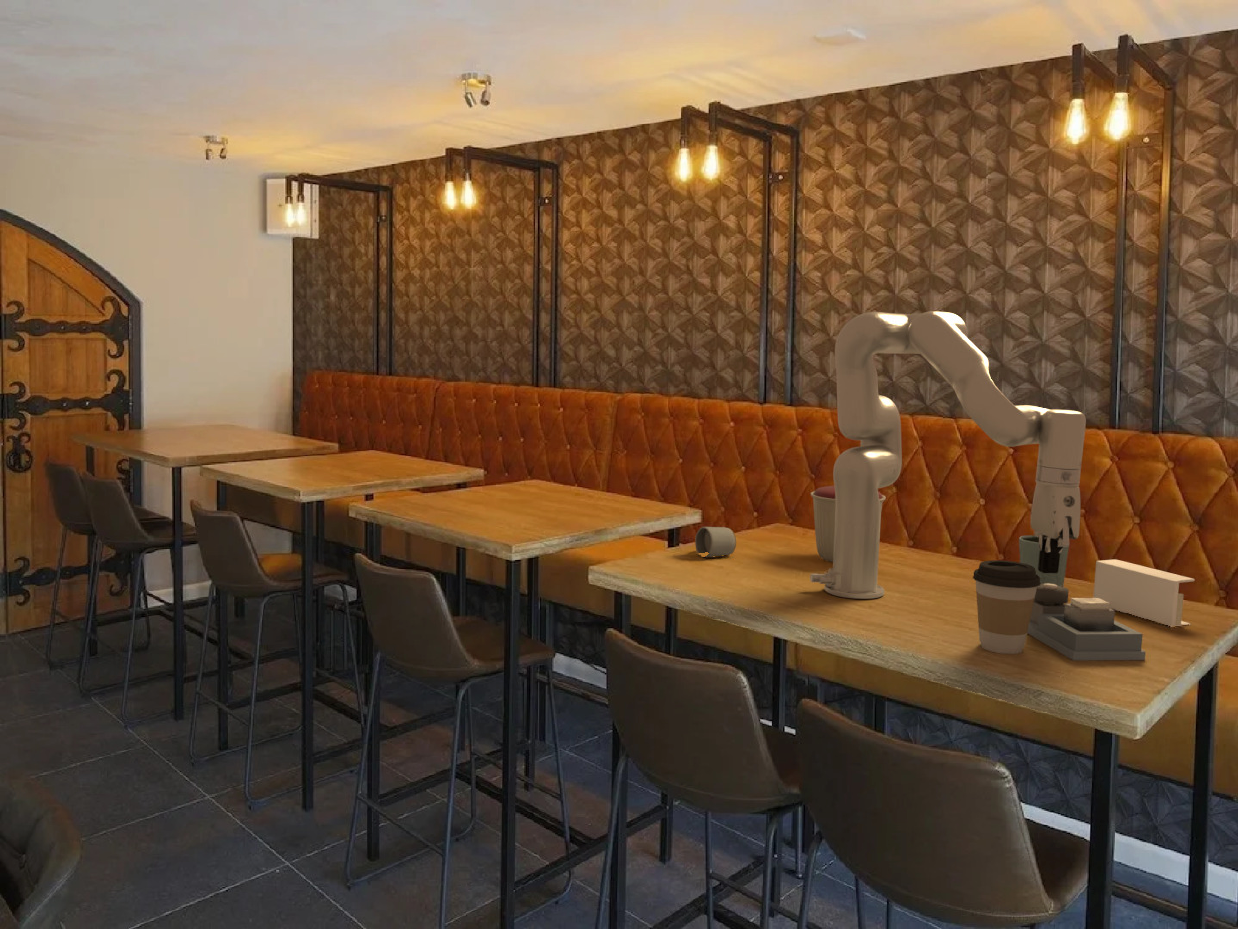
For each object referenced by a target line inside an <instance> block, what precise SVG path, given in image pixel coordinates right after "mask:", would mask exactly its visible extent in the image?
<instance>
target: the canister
mask: <svg viewBox="0 0 1238 929" xmlns="http://www.w3.org/2000/svg"><path fill="white" fill-rule="evenodd" d="M878 495H879V499H880V506H881V510H882V509H883V502H884V501H886V495H884V494H882V493H881V492H880V491H878ZM810 497H812V499H813V500H812V502H813V517H814V518H813V520H814V532H815V535H814V536H815V543H816V550H817V551H816V552H817V553H818V556H819V557H820V558H821V559H822V560H824V561H826V562H829V563H833V555H834V535H835V508H836V497H835V486H834V485H828V486H822V487H818V488H816V489H815V490H814V491H812V492H810Z"/></svg>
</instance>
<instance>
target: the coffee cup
mask: <svg viewBox="0 0 1238 929" xmlns="http://www.w3.org/2000/svg"><path fill="white" fill-rule="evenodd" d="M972 579H973V580H974V581H975V590H976V592H975V593H976V609H977V621H978V622H977V623H978V625H977V626H978V636H979V638H978V639H979V643H980V647H981V648H982V649H983V650H986V651H988V652H992V653H995V654H1001V655H1003V654H1004V655H1016V654H1021V653H1023V650H1024V647H1025V645H1026V641H1027V636H1028V633H1027V631H1028V627H1029V622H1030V617H1031V612H1032V608H1033V603H1034V598H1035V594H1036V589H1037V586H1039V585H1040V584H1041V583H1040V577H1039V576H1038V575H1036V570H1035V568H1034V567H1033V566H1030V565H1028V564H1024V563H1020V561H1019V562H1018V561H1013V560H998V559H997V560H994V559H993V560H983V561H981V562H980V563H979V565H978V568H976V569H975V570H974V571H973V575H972Z"/></svg>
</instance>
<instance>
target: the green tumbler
mask: <svg viewBox="0 0 1238 929" xmlns="http://www.w3.org/2000/svg"><path fill="white" fill-rule="evenodd" d="M1018 543H1019V544H1018V545H1019V563H1024V564H1028V565H1030V566H1033V567H1034V568H1035V570H1036V575H1038V576H1039V577H1040V583H1041V584H1046V583H1049V584H1055V585H1057V586H1062V587H1065V585H1064V583H1065V577H1066V572H1067V570H1066V569H1067V562H1068V561H1067V560H1068V554H1069V548H1070V546H1069V547H1063V549H1062V552H1061V553H1060V560H1059V569H1058V573H1042V572H1040V571H1038V563H1039V553H1040V549H1039V539H1038V537H1037V536H1035V534H1034V535H1031V534H1030V535H1021V536H1020V537H1019V539H1018Z"/></svg>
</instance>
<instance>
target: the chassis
mask: <svg viewBox="0 0 1238 929" xmlns="http://www.w3.org/2000/svg"><path fill="white" fill-rule="evenodd" d="M1064 611H1065V603H1063V604H1054V605H1044V602H1039V601H1036V600H1034V603H1033V608H1032V612H1031V617H1030V622H1029V627H1028V631H1027V635H1030V636H1031V637H1033V638H1034V639H1036V640H1038V641H1040V642H1042V643H1043V644H1045V645H1047V646H1048V647H1049V648H1052V649H1053V650H1055V651H1057V652H1058V653H1060V654H1062V655H1063V656H1065V657H1067V658H1069V659H1070V660H1072V661H1146V651H1145V650H1143V649H1142V644H1143V635H1144V634H1143V633H1142V632H1140V631H1138V630H1136V629H1133V628H1131V627H1129V626H1127V625H1125V624H1123V623H1121V622H1119V621H1116V620H1115V619H1114V629H1113V632H1080V631H1078V630H1076V629H1074V628H1072V627H1070V626H1069V625H1067V624H1065V623H1064Z"/></svg>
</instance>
